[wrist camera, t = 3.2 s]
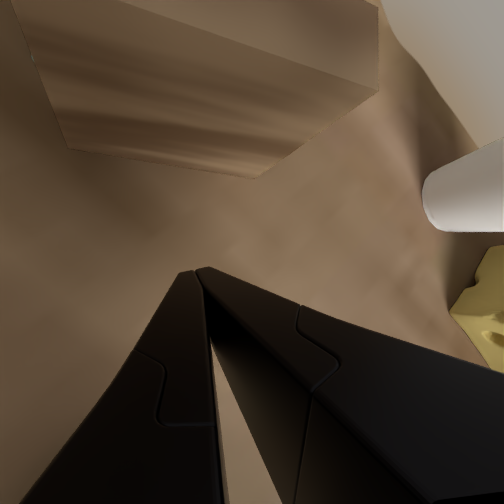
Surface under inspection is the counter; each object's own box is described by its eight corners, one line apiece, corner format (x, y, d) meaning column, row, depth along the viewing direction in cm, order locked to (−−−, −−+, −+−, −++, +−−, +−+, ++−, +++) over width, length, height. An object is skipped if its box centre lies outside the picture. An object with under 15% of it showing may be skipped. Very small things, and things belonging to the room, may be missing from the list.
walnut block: (254, 179, 23) (378, 91, 12) (68, 148, 18) (-7, -44, 7) (255, 133, 23) (378, 7, 12) (72, 92, 19) (7, -174, 8)
